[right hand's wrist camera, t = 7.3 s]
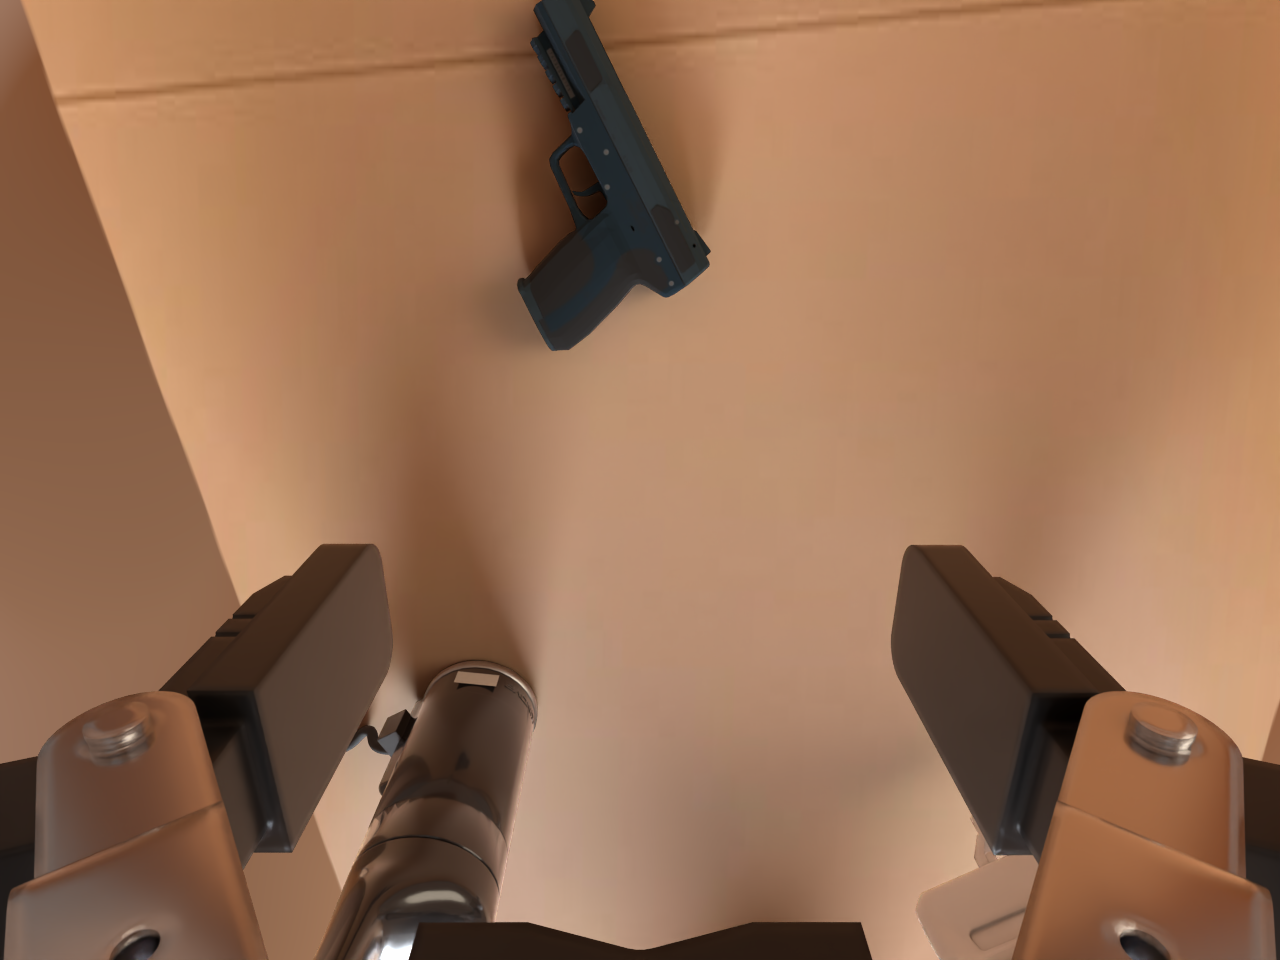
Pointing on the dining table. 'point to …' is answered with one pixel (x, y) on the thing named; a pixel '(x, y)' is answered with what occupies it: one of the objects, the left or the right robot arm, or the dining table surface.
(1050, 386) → the dining table surface
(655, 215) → the handgun
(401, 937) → the right robot arm
